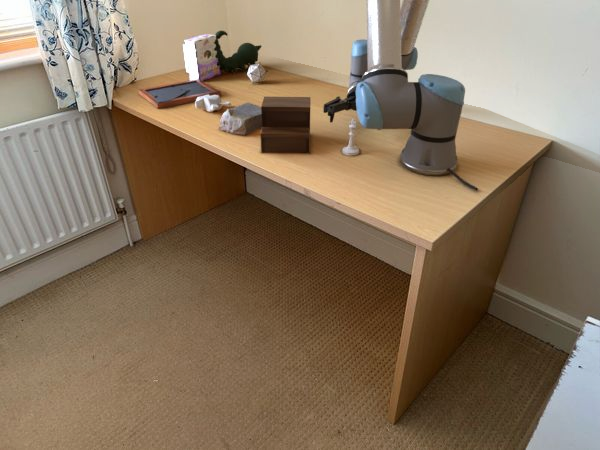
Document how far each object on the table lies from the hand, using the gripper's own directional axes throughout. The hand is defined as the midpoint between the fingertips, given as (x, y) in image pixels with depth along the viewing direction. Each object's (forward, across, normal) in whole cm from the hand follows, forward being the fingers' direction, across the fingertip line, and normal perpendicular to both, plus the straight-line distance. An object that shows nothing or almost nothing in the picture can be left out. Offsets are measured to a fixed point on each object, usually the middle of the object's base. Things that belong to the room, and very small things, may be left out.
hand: (354, 119), depth 129 cm
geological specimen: (-6, +35, -7) cm, 36 cm away
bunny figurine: (-19, +51, -7) cm, 55 cm away
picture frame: (-33, +69, -7) cm, 77 cm away
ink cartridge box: (-65, +73, -7) cm, 98 cm away
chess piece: (+8, 0, -7) cm, 11 cm away
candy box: (-57, +67, -7) cm, 88 cm away
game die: (-53, +44, -7) cm, 69 cm away
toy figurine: (-70, +56, -7) cm, 90 cm away
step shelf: (+5, +20, -7) cm, 21 cm away
